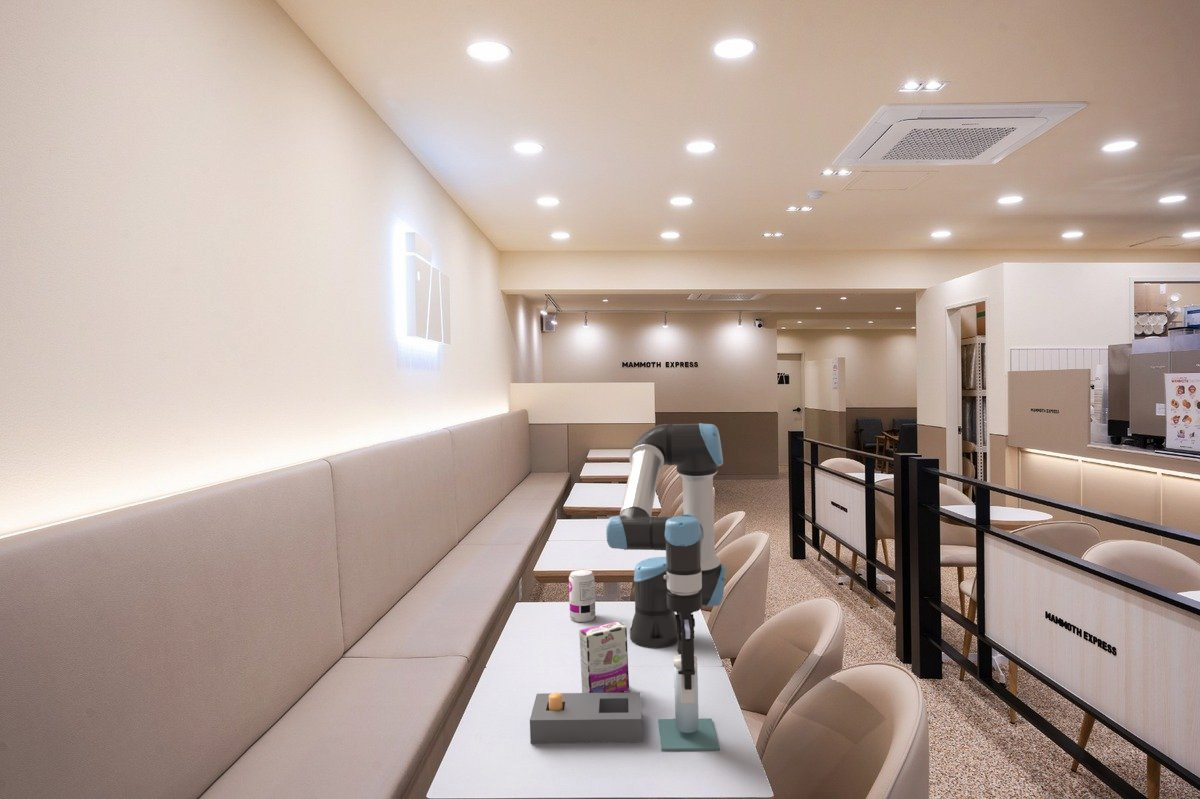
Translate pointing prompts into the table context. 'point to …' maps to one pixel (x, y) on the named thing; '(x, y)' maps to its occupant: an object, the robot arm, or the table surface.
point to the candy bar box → (604, 658)
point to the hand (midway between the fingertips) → (686, 695)
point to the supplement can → (582, 595)
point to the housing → (587, 718)
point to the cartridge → (685, 711)
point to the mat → (687, 736)
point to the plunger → (555, 702)
